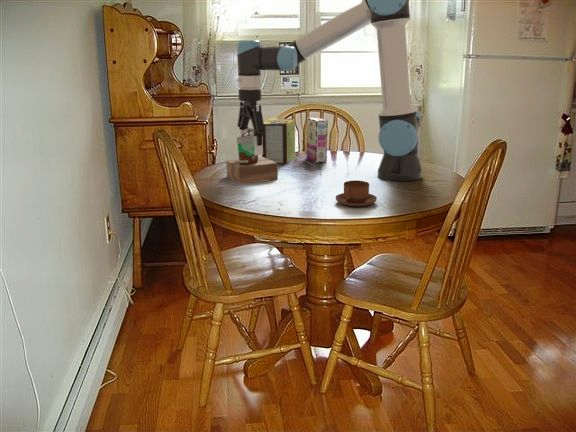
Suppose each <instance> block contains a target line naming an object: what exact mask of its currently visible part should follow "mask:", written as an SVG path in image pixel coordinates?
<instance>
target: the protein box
mask: <svg viewBox="0 0 576 432" xmlns="http://www.w3.org/2000/svg"><path fill="white" fill-rule="evenodd" d="M263 122H264V128H265V134H263V155H261V157H264V158H267V159H269V160H271V161H274V162H276V163H278V164H285V165H286V164H288V163H290V162H291V161H292V160H293V159H294V158H295V157H296V118H273V117H272V118H269V119H266V120H265V121H263Z"/></svg>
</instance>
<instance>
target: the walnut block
mask: <svg viewBox="0 0 576 432" xmlns="http://www.w3.org/2000/svg"><path fill="white" fill-rule="evenodd" d="M278 165H279V163H276V162H274V161H271V160H269V159H267V158H264V157H262V156H258V161H257V162H256V163H253V164H249V165H240V164H239V159H231V160H226V177H227V178H229V179H231V180H233V181H235V182H236V183H239V184H240V185H241V184H249V183H256V182H257V183H258V182H263V181H264V182H265V181H273V180H278V176H279V174H278V173H279V172H278V169H279V168H278V167H279V166H278Z"/></svg>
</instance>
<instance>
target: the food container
mask: <svg viewBox="0 0 576 432" xmlns="http://www.w3.org/2000/svg"><path fill="white" fill-rule="evenodd" d="M246 130H247V132H246V133H244V134H242V136H241V137H240V136H237V137H236V144H237V151H238V160H239V164H240V165H249V164H253V163H256V162H257V161H258V157H259V155H255V152H254V136H253V135H254V133H255V132H254V129H253V128H252V127H251V128H250V127H248V128H247V129H246Z"/></svg>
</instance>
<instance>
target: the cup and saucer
mask: <svg viewBox="0 0 576 432" xmlns="http://www.w3.org/2000/svg"><path fill="white" fill-rule="evenodd" d="M377 199H378V198H377V196H376V195H374V194H372V193H370V183H369V182H367V181H365V180H346V181H345V182H344V183H343V192H342V193H340V194H337V195H336V196H335V200H336V201H337V202H338V203H339V204H340V205H344V206H347V207H366V206H371V205H372V204H373V205H374V203H375V202H377Z"/></svg>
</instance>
